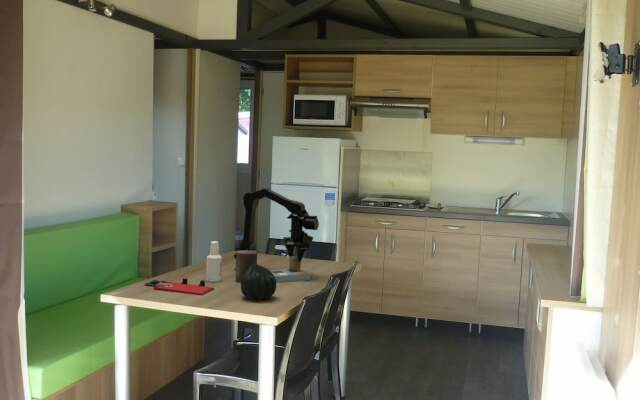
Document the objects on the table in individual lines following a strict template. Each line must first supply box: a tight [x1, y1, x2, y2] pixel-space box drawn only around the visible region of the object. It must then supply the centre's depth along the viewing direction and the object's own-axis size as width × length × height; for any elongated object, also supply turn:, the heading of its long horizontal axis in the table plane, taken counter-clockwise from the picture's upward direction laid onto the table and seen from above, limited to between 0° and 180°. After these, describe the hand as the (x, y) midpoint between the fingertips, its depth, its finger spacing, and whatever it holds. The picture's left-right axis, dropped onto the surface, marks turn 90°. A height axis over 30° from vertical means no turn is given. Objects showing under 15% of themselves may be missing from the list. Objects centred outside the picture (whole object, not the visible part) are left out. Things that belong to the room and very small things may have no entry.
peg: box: [288, 255, 302, 273], centre depth 288 cm, size 4×4×10 cm
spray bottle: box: [205, 240, 223, 283], centre depth 272 cm, size 7×7×18 cm
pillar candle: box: [235, 250, 258, 283], centre depth 274 cm, size 10×10×15 cm
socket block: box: [269, 268, 311, 284], centre depth 284 cm, size 18×13×3 cm
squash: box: [240, 263, 277, 301], centre depth 245 cm, size 14×15×15 cm
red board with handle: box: [144, 278, 215, 296], centre depth 256 cm, size 30×3×15 cm
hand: (295, 260), depth 287 cm, fingers open, 9 cm apart
